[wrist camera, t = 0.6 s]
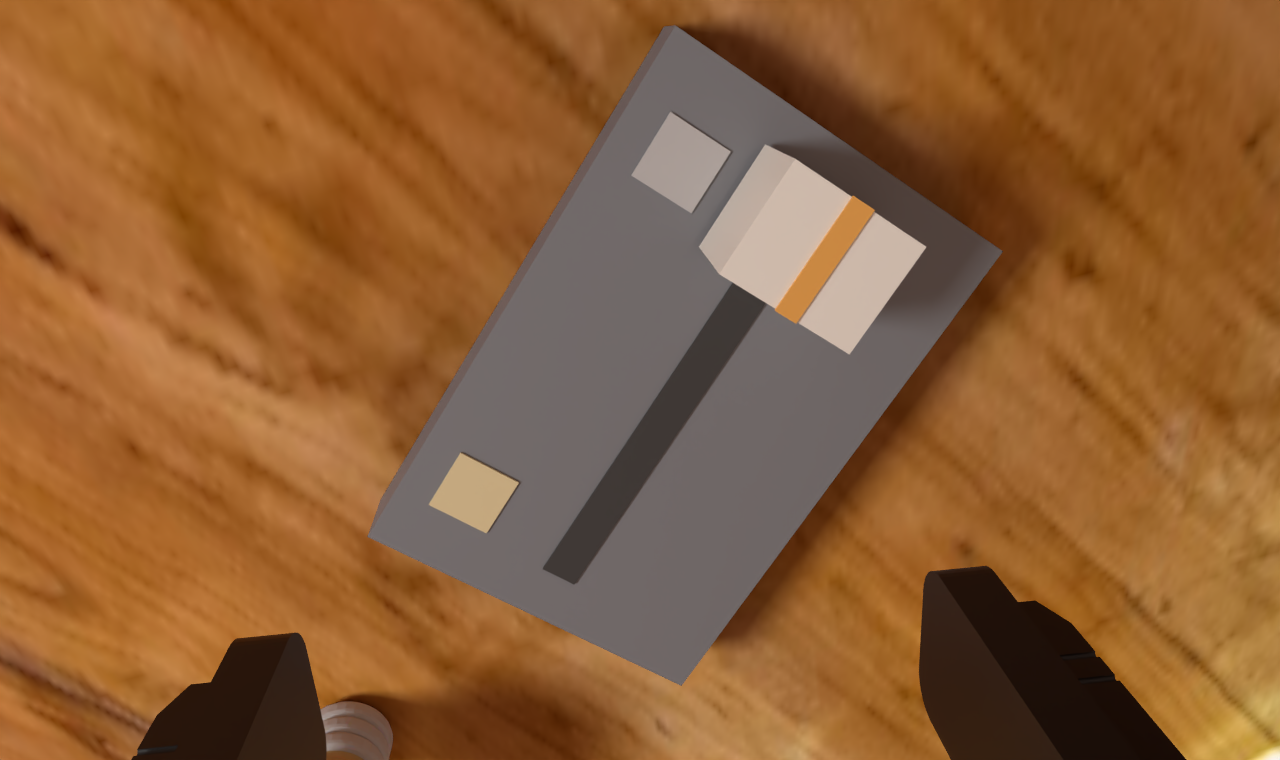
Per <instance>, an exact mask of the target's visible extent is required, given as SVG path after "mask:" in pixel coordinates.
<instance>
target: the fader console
mask: <svg viewBox="0 0 1280 760" xmlns="http://www.w3.org/2000/svg"><path fill="white" fill-rule="evenodd" d="M764 145H768V146H770V147H772V148H774V149H776V150H778V151H780V152H782V153H784V154H786V155H788V156H790V157H793V158H795V159H796V160H798V161H799V162H801V163H802V164H804V165H805V166H807V167H808V168H810V169H811V170H813V171H814V172H816V173H817V174H819V175H820V176H822V177H823V178H825V179H826V180H828V181H829V182H831V183H832V184H833V185H835V186H836V187H838V188H839V189H841V190H842V191H844V192H845V193H847V194H848V195H850V196H851V197H852V196H855V197H856V198H858V199H859V200H861V201H862V202H864V203H865V204H867V205H868V206H870V207H871V208H873V209H874V210H875V211H874V212H875V213H877V214H878V215H880V216H881V217H883V218H884V219H886V220H887V221H889V222H890V223H891V224H893V225H894V226H896V227H897V228H899V229H900V230H902V231H903V232H905V233H906V234H908V235H909V236H911V237H912V238H914V239H915V240H917V241H918V242H920V243H921V244H923V245H924V246H926V248H925V250H924V251H923V253H922V254H921V255H920V257H919V258H918V260H917V261H916V262H915V264H914V265H913V267H912V268H911V269H910V271H909V272H908V274H907V275H906V276H905V278H904V279H903V280H902V282H901V283H900V285H899V286H898V287H897V289H896V290H895V292H894V293H893V294H892V296H891V297H890V299H889V300H888V301H887V303H886V304H885V306H884V307H883V308H882V310H881V311H880V313H879V314H878V315H877V317H876V318H875V320H874V321H873V322H872V324H871V325H870V327H869V328H868V329H867V331H866V332H865V334H864V335H863V336H862V338H861V339H860V341H859V342H858V343H857V345H856V346H855V347H854V349H853V350H852V352H851V353H850V354H848V353H846V352H844V351H843V350H841V349H840V348H838V347H836V346H835V345H833V344H832V343H830V342H828V341H827V340H825V339H823V338H822V337H820V336H819V335H817V334H815V333H814V332H812V331H810V330H809V329H807V328H806V327H804V326H802V325H801V324H799V323H798V322H797V323H796V324H795V323H794V322H792V321H790V320H789V319H787V318H786V317H784V316H782V315H781V314H779V313H778V312H776V311H775V308H773V307H772V306H770V305H768V304H767V303H765V302H763V301H762V300H760V299H759V298H757V297H755V296H754V295H752V294H751V293H749V292H747V291H746V290H744V289H742V288H741V287H739V286H738V285H736V284H734V283H733V282H731V281H729V280H728V279H726V278H725V277H723V276H721V275H720V274H719V273H718V272H717V271H716V269H715V268H714V267H713V265H712V264H711V262H710V261H709V260H708V258H707V257H706V256H705V254H704V253H703V252H702V250H701V249H700V248H699V246H700V244H701V243H702V241H703V240H704V238H705V236H706V235H707V233H708V232H709V230H710V229H711V227H712V226H713V224H714V223H715V221H716V219H717V218H718V216H719V215H720V213H721V212H722V210H723V209H724V207H725V206H726V204H727V203H728V201H729V199H730V198H731V196H732V195H733V193H734V192H735V190H736V189H737V187H738V186H739V184H740V182H741V181H742V179H743V178H744V176H745V175H746V173H747V172H748V170H749V169H750V167H751V166H752V164H753V162H754V161H755V159H756V158H757V156H758V155H759V153H760V152H761V150H762V149H763V147H764ZM1002 252H1003V251H1002V250H1000V249H999V248H997V247H996V246H994V245H993V244H992V243H990V242H989V241H987V240H986V239H984V238H983V237H981V236H980V235H979V234H977V233H976V232H974V231H973V230H971V229H970V228H968V227H967V226H965V225H964V224H963V223H961V222H960V221H958V220H957V219H955V218H954V217H952V216H951V215H950V214H948V213H947V212H945V211H944V210H942V209H941V208H939V207H938V206H936V205H935V204H934V203H932V202H931V201H929V200H928V199H926V198H925V197H923V196H922V195H921V194H919V193H918V192H916V191H915V190H913V189H912V188H910V187H909V186H907V185H906V184H905V183H903V182H902V181H900V180H899V179H897V178H896V177H894V176H893V175H891V174H890V173H889V172H887V171H886V170H884V169H883V168H881V167H880V166H878V165H877V164H876V163H874V162H873V161H871V160H870V159H868V158H867V157H865V156H864V155H862V154H861V153H860V152H858V151H857V150H855V149H854V148H852V147H851V146H849V145H848V144H847V143H845V142H844V141H842V140H841V139H839V138H838V137H836V136H835V135H833V134H832V133H831V132H829V131H828V130H826V129H825V128H823V127H822V126H820V125H819V124H818V123H816V122H815V121H813V120H812V119H810V118H809V117H807V116H806V115H804V114H803V113H802V112H800V111H799V110H797V109H796V108H794V107H793V106H791V105H790V104H789V103H787V102H786V101H784V100H783V99H781V98H780V97H778V96H777V95H775V94H774V93H773V92H771V91H770V90H768V89H767V88H765V87H764V86H762V85H761V84H760V83H758V82H757V81H755V80H754V79H752V78H751V77H749V76H748V75H746V74H745V73H744V72H742V71H741V70H739V69H738V68H736V67H735V66H733V65H732V64H731V63H729V62H728V61H726V60H725V59H723V58H722V57H720V56H719V55H717V54H716V53H715V52H713V51H712V50H710V49H709V48H707V47H706V46H704V45H703V44H702V43H700V42H699V41H697V40H696V39H694V38H693V37H691V36H690V35H688V34H687V33H686V32H684V31H683V30H681V29H680V28H678V27H677V26H665V27H664V28H663V29H662V31H661V33H660V34H659V36H658V38H657V39H656V41H655V43H654V44H653V46H652V48H651V49H650V51H649V53H648V54H647V56H646V58H645V59H644V61H643V63H642V64H641V66H640V68H639V69H638V71H637V73H636V74H635V76H634V78H633V79H632V81H631V83H630V85H629V86H628V88H627V90H626V91H625V93H624V95H623V96H622V98H621V100H620V101H619V103H618V105H617V106H616V108H615V110H614V111H613V113H612V115H611V116H610V118H609V120H608V121H607V123H606V125H605V126H604V128H603V130H602V131H601V133H600V135H599V136H598V138H597V140H596V141H595V143H594V145H593V146H592V148H591V150H590V151H589V153H588V155H587V156H586V158H585V160H584V161H583V163H582V165H581V166H580V168H579V170H578V171H577V173H576V175H575V176H574V178H573V180H572V181H571V183H570V185H569V186H568V188H567V190H566V191H565V193H564V195H563V196H562V198H561V200H560V201H559V203H558V205H557V206H556V208H555V210H554V211H553V213H552V215H551V216H550V218H549V220H548V221H547V223H546V225H545V226H544V228H543V230H542V231H541V233H540V235H539V236H538V238H537V240H536V241H535V243H534V245H533V246H532V248H531V250H530V251H529V253H528V255H527V256H526V258H525V260H524V261H523V263H522V265H521V266H520V268H519V270H518V271H517V273H516V275H515V276H514V278H513V280H512V281H511V283H510V285H509V286H508V288H507V290H506V291H505V293H504V295H503V296H502V298H501V300H500V301H499V303H498V305H497V306H496V308H495V310H494V312H493V313H492V315H491V317H490V318H489V320H488V322H487V323H486V325H485V327H484V328H483V330H482V332H481V333H480V335H479V337H478V338H477V340H476V342H475V343H474V345H473V347H472V348H471V350H470V352H469V353H468V355H467V357H466V358H465V360H464V362H463V363H462V365H461V367H460V368H459V370H458V372H457V373H456V375H455V377H454V378H453V380H452V382H451V383H450V385H449V387H448V388H447V390H446V392H445V393H444V395H443V397H442V398H441V400H440V402H439V403H438V405H437V407H436V408H435V410H434V412H433V413H432V415H431V417H430V418H429V420H428V422H427V423H426V425H425V427H424V428H423V430H422V432H421V433H420V435H419V437H418V438H417V440H416V442H415V443H414V445H413V447H412V448H411V450H410V452H409V453H408V455H407V457H406V458H405V460H404V462H403V463H402V465H401V467H400V468H399V470H398V472H397V473H396V475H395V477H394V478H393V480H392V482H391V483H390V485H389V487H388V488H387V490H386V492H385V493H384V495H383V497H382V498H381V500H380V503H379V506H378V509H377V512H376V515H375V517H374V520H373V523H372V526H371V529H370V531H369V534H368V537H369V538H371V539H374V540H376V541H378V542H380V543H382V544H384V545H386V546H388V547H390V548H393V549H395V550H397V551H399V552H401V553H403V554H405V555H407V556H409V557H411V558H414V559H416V560H418V561H420V562H422V563H424V564H426V565H428V566H430V567H433V568H435V569H437V570H439V571H441V572H443V573H445V574H447V575H449V576H451V577H454V578H456V579H458V580H460V581H462V582H464V583H466V584H468V585H470V586H472V587H475V588H477V589H479V590H481V591H483V592H485V593H487V594H489V595H491V596H494V597H496V598H498V599H500V600H502V601H504V602H506V603H508V604H510V605H512V606H515V607H517V608H519V609H521V610H523V611H525V612H527V613H529V614H531V615H534V616H536V617H538V618H540V619H542V620H544V621H546V622H548V623H550V624H552V625H555V626H557V627H559V628H561V629H563V630H565V631H567V632H569V633H571V634H574V635H576V636H578V637H580V638H582V639H584V640H586V641H588V642H590V643H592V644H595V645H597V646H599V647H601V648H603V649H605V650H607V651H609V652H611V653H614V654H616V655H618V656H620V657H622V658H624V659H626V660H628V661H630V662H632V663H635V664H637V665H639V666H641V667H643V668H645V669H647V670H649V671H651V672H654V673H656V674H658V675H660V676H662V677H664V678H666V679H668V680H670V681H672V682H675V683H677V684H679V685H681V686H682V684H683V683H684V682H685V680H686V679H687V678H688V676H689V675H690V674H691V672H692V671H693V669H694V668H695V667H696V665H697V664H698V663H699V661H700V660H701V659H702V657H703V656H704V655H705V653H706V652H707V651H708V649H709V648H710V646H711V645H712V644H713V642H714V641H715V640H716V638H717V637H718V636H719V634H720V633H721V632H722V630H723V629H724V628H725V626H726V625H727V624H728V622H729V621H730V619H731V618H732V617H733V615H734V614H735V613H736V611H737V610H738V609H739V607H740V606H741V605H742V603H743V602H744V601H745V599H746V598H747V597H748V595H749V594H750V592H751V591H752V590H753V588H754V587H755V586H756V584H757V583H758V582H759V580H760V579H761V578H762V576H763V575H764V574H765V572H766V571H767V569H768V568H769V567H770V565H771V564H772V563H773V561H774V560H775V559H776V557H777V556H778V555H779V553H780V552H781V551H782V549H783V548H784V547H785V545H786V544H787V542H788V541H789V540H790V538H791V537H792V536H793V534H794V533H795V532H796V530H797V529H798V528H799V526H800V525H801V524H802V522H803V521H804V520H805V518H806V517H807V515H808V514H809V513H810V511H811V510H812V509H813V507H814V506H815V505H816V503H817V502H818V501H819V499H820V498H821V497H822V495H823V494H824V492H825V491H826V490H827V488H828V487H829V486H830V484H831V483H832V482H833V480H834V479H835V478H836V476H837V475H838V474H839V472H840V471H841V470H842V468H843V467H844V465H845V464H846V463H847V461H848V460H849V459H850V457H851V456H852V455H853V453H854V452H855V451H856V449H857V448H858V447H859V445H860V444H861V442H862V441H863V440H864V438H865V437H866V436H867V434H868V433H869V432H870V430H871V429H872V428H873V426H874V425H875V424H876V422H877V421H878V420H879V418H880V417H881V415H882V414H883V413H884V411H885V410H886V409H887V407H888V406H889V405H890V403H891V402H892V401H893V399H894V398H895V397H896V395H897V394H898V393H899V391H900V390H901V388H902V387H903V386H904V384H905V383H906V382H907V380H908V379H909V378H910V376H911V375H912V374H913V372H914V371H915V370H916V368H917V367H918V365H919V364H920V363H921V361H922V360H923V359H924V357H925V356H926V355H927V353H928V352H929V351H930V349H931V348H932V347H933V345H934V344H935V343H936V341H937V340H938V338H939V337H940V336H941V334H942V333H943V332H944V330H945V329H946V328H947V326H948V325H949V324H950V322H951V321H952V320H953V318H954V317H955V315H956V314H957V313H958V311H959V310H960V309H961V307H962V306H963V305H964V303H965V302H966V301H967V299H968V298H969V297H970V295H971V294H972V293H973V291H974V290H975V288H976V287H977V286H978V284H979V283H980V282H981V280H982V279H983V278H984V276H985V275H986V274H987V272H988V271H989V270H990V268H991V267H992V266H993V264H994V263H995V261H996V260H997V259H998V257H999V256H1000V255H1001V253H1002Z"/></svg>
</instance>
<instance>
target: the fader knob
mask: <svg viewBox="0 0 1280 760" xmlns="http://www.w3.org/2000/svg"><path fill="white" fill-rule="evenodd" d="M874 211H875V210H874V209H873V208H871V207H870V206H868V205H867V204H865V203H864V202H862V201H861V200H859V199H858V198H856V197H855V196H852V197H851V196H850V195H848V194H847V193H845V192H844V191H842V190H841V189H839V188H838V187H836V186H835V185H833V184H832V183H831V182H829V181H828V180H826V179H825V178H823V177H822V176H820V175H819V174H817V173H816V172H814V171H813V170H811V169H810V168H808V167H807V166H805V165H804V164H802V163H801V162H799V161H798V160H796V159H795V158H793V157H790V156H788V155H786V154H784V153H782V152H780V151H778V150H776V149H774V148H772V147H770V146H768V145H764V147H763V149H762V150H761V152H760V153H759V155H758V156H757V158H756V159H755V161H754V162H753V164H752V166H751V167H750V169H749V170H748V172H747V173H746V175H745V176H744V178H743V179H742V181H741V182H740V184H739V186H738V187H737V189H736V190H735V192H734V193H733V195H732V196H731V198H730V199H729V201H728V203H727V204H726V206H725V207H724V209H723V210H722V212H721V213H720V215H719V216H718V218H717V219H716V221H715V223H714V224H713V226H712V227H711V229H710V230H709V232H708V233H707V235H706V236H705V238H704V240H703V241H702V243H701V244H700V246H699V248H700V249H701V250H702V252H703V253H704V254H705V256H706V257H707V258H708V260H709V261H710V262H711V264H712V265H713V267H714V268H715V269H716V271H717V272H718V273H719V274H720V275H721V276H723V277H725V278H726V279H728V280H729V281H731V282H733V283H734V284H736V285H738V286H739V287H741V288H742V289H744V290H746V291H747V292H749V293H751V294H752V295H754V296H755V297H757V298H759V299H760V300H762V301H763V302H765V303H767V304H768V305H770V306H772V307H773V308H775V311H776V312H778V313H779V314H781V315H782V316H784V317H786V318H787V319H789V320H790V321H792V322H794V323H795V324H796V323H797V322H798V323H799V324H801V325H802V326H804V327H806V328H807V329H809V330H810V331H812V332H814V333H815V334H817V335H819V336H820V337H822V338H823V339H825V340H827V341H828V342H830V343H832V344H833V345H835V346H836V347H838V348H840V349H841V350H843V351H844V352H846V353H848V354H850V353H851V352H852V350H853V349H854V347H855V346H856V345H857V343H858V342H859V341H860V339H861V338H862V336H863V335H864V334H865V332H866V331H867V329H868V328H869V327H870V325H871V324H872V322H873V321H874V320H875V318H876V317H877V315H878V314H879V313H880V311H881V310H882V308H883V307H884V306H885V304H886V303H887V301H888V300H889V299H890V297H891V296H892V294H893V293H894V292H895V290H896V289H897V287H898V286H899V285H900V283H901V282H902V280H903V279H904V278H905V276H906V275H907V274H908V272H909V271H910V269H911V268H912V267H913V265H914V264H915V262H916V261H917V260H918V258H919V257H920V255H921V254H922V253H923V251H924V250H925V248H926V246H924V245H923V244H921V243H920V242H918V241H917V240H915V239H914V238H912V237H911V236H909V235H908V234H906V233H905V232H903V231H902V230H900V229H899V228H897V227H896V226H894V225H893V224H891V223H890V222H889V221H887V220H886V219H884V218H883V217H881V216H880V215H878V214H877V213H875V212H874Z"/></svg>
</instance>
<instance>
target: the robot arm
mask: <svg viewBox="0 0 1280 760" xmlns="http://www.w3.org/2000/svg"><path fill="white" fill-rule="evenodd" d="M919 678H920V686H921V692H922V697H923V701H924V705H925V708H926V711H927V714H928V716H929V718H930V720H931V723H932V724H933V726H934V728H935V730H936V732H937V734H938V736H939V738H940V740H941V741H942V743H943V745H944V747H945V749H946V751H947V753H948V755H949V757H950V759H951V760H1186V759H1185V758H1184V756H1183V755H1182V754H1181V753H1180V752H1179V750H1178V749H1177V748H1176V747H1175V746H1174V745H1173V743H1172V742H1171V741H1170V740H1169V739H1168V737H1167V736H1166V735H1165V734H1164V733H1163V731H1162V730H1161V729H1160V728H1159V727H1158V726H1157V724H1156V723H1155V722H1154V721H1153V720H1152V718H1151V717H1150V716H1149V715H1148V714H1147V712H1146V711H1145V710H1144V709H1143V708H1142V707H1141V705H1140V704H1139V703H1138V702H1137V701H1136V699H1135V698H1134V697H1133V696H1132V695H1131V693H1130V692H1129V691H1128V690H1127V689H1126V688H1125V686H1124V685H1123V684H1122V683H1121V682H1120V681H1116V680H1115V674H1114V673H1113V672H1112V671H1111V670H1110V669H1109V667H1108V666H1107V665H1106V664H1105V663H1104V661H1103V660H1102V659H1101V658H1100V657H1096V655H1095V651H1094V650H1093V648H1092V647H1091V646H1090V645H1089V644H1088V642H1087V641H1086V640H1085V639H1084V638H1083V636H1082V635H1081V634H1080V633H1079V632H1078V631H1077V629H1076V628H1075V627H1074V626H1073V625H1072V623H1070V622H1069V621H1067V620H1065V619H1064V618H1062V617H1061V616H1059V615H1057V614H1056V613H1054V612H1053V611H1051V610H1049V609H1048V608H1046V607H1045V606H1043V605H1041V604H1040V603H1038V602H1037V601H1026V602H1017V600H1016V599H1015V598H1014V597H1013V595H1012V594H1011V593H1010V592H1009V590H1008V589H1007V588H1006V586H1005V585H1004V584H1003V583H1002V581H1001V580H1000V579H999V577H998V576H997V575H996V574H995V572H994V571H993V570H992V569H991V568H989V567H987V566H980V567H970V568H960V569H950V570H940V571H930V572H929V573H928V574H927V575H926V578H925V582H924V589H923V607H922V625H921V643H920V661H919ZM137 750H138V754H137V756H133V758H132V760H326V755H327V748H326V734H325V728H324V724H323V719H322V715H321V710H320V706H319V702H318V697H317V693H316V689H315V684H314V680H313V676H312V671H311V667H310V663H309V658H308V654H307V650H306V646H305V643H304V640H303V638H302V637H301V635H300V634H298V633H288V634H278V635H268V636H258V637H248V638H238V639H235V640H234V641H233V642H232V643H231V645H230V647H229V648H228V650H227V652H226V654H225V656H224V658H223V660H222V662H221V664H220V666H219V668H218V670H217V672H216V673H215V675H214V677H213V679H212V681H211V682H210V683H201V684H191V685H190V686H189V687H188V688H186V689H185V690H184V691H183V692H182V693H181V694H180V695H179V696H178V697H177V698H175V699H174V700H173V701H172V702H171V703H170V704H169V705H168V706H167V707H166V708H164V709H163V710H162V711H161V712H160V713H159V714H158V715H157V716H156V718H155V720H154V721H153V723H152V725H151V727H150V728H149V730H148V732H147V734H146V735H145V737H144V739H143V741H142V742H141V744H140V746H139V748H138V749H137Z"/></svg>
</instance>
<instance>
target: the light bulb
mask: <svg viewBox="0 0 1280 760" xmlns="http://www.w3.org/2000/svg"><path fill="white" fill-rule="evenodd" d="M321 715H322V719H323V724H324V728H325V734H326V748H327V755H326V760H389V756H390V753H391V749H392V744H393V733H392V729H391V727H390V725H389V722H388V721H387V719H386V718H385V717H384V716H383V715H382V713H380V712H379V711H378V710H376V709H375V708H373V707H371V706H369V705H366V704H363V703H359V702H353V701H344V702H338V703H335V704H331V705H328V706H326V707H324V708H322V709H321Z"/></svg>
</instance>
